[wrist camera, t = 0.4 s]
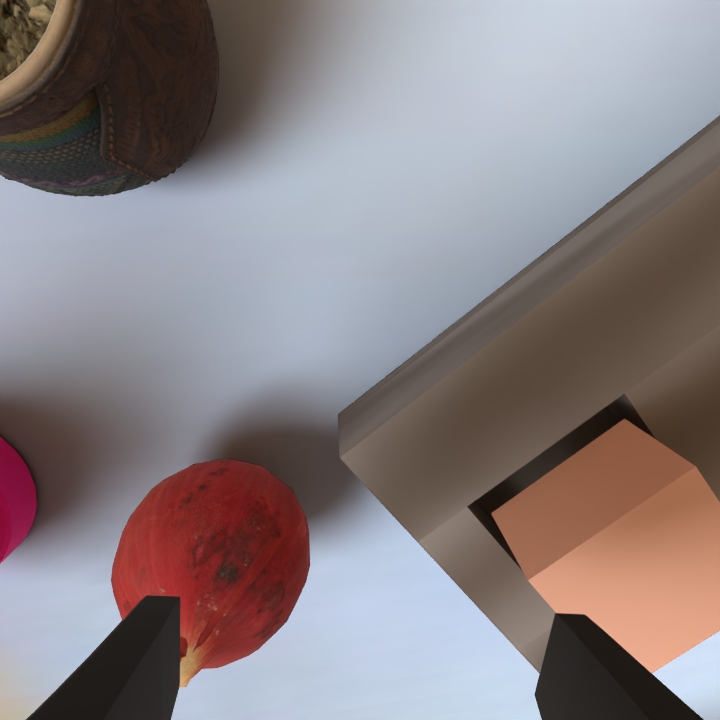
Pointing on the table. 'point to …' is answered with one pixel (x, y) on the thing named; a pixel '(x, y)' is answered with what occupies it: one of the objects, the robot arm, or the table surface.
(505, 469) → the key bed
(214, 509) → the onion
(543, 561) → the terracotta key
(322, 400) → the table surface
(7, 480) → the pepper mill
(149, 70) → the mate gourd
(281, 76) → the table surface
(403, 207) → the table surface
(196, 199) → the table surface
